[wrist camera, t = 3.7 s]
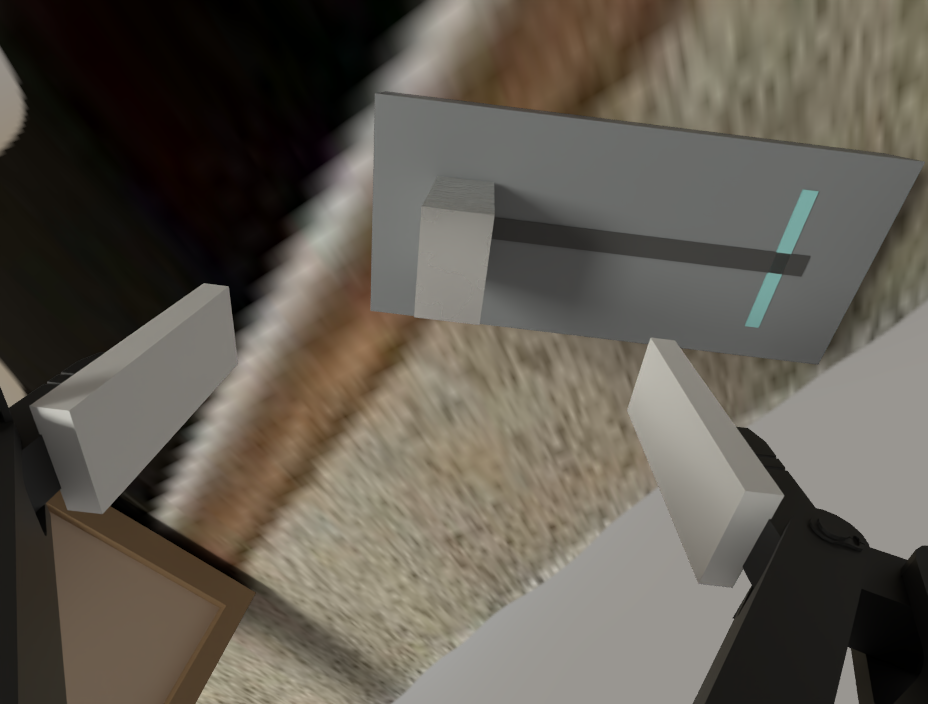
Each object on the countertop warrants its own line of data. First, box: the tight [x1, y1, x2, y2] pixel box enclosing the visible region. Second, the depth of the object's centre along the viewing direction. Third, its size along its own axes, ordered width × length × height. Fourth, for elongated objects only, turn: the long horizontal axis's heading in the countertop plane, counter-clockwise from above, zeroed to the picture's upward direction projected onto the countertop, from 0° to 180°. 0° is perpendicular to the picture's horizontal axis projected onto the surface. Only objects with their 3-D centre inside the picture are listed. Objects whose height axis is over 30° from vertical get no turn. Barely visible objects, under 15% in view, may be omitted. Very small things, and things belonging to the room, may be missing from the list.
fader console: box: [371, 92, 925, 364], centre depth 30 cm, size 28×12×3 cm, turn 84°
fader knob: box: [414, 176, 495, 325], centre depth 25 cm, size 3×5×7 cm, turn 174°
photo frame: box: [46, 490, 255, 704], centre depth 38 cm, size 15×22×25 cm
